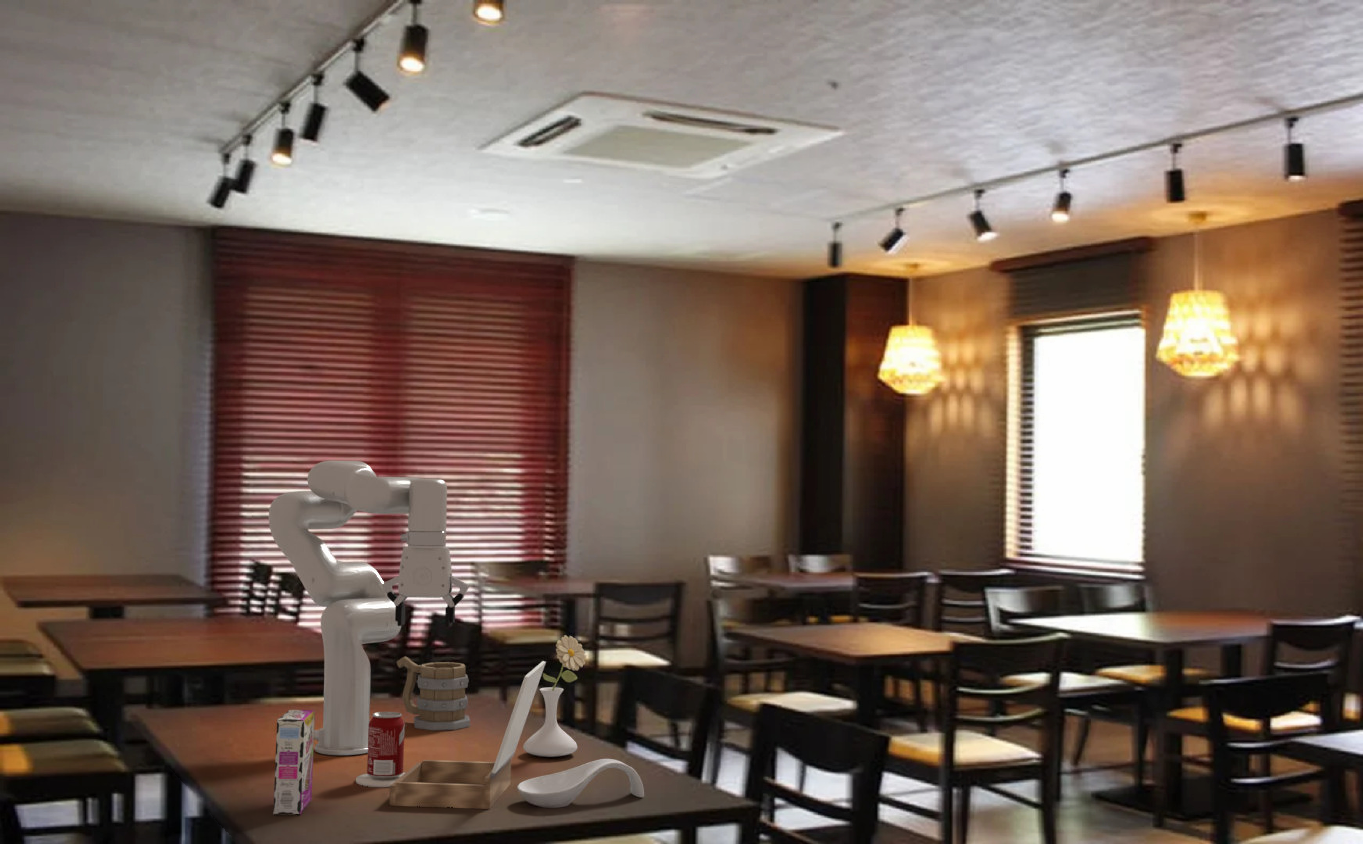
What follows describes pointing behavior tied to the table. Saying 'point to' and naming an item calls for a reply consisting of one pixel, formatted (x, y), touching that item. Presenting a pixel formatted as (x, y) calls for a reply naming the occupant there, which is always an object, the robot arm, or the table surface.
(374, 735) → the soda can
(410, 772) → the open wooden box
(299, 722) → the candy bar box
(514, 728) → the lid
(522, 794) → the spoon rest
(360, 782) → the disc
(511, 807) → the table surface
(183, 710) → the table surface
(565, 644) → the flower in vase
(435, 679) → the tankard
